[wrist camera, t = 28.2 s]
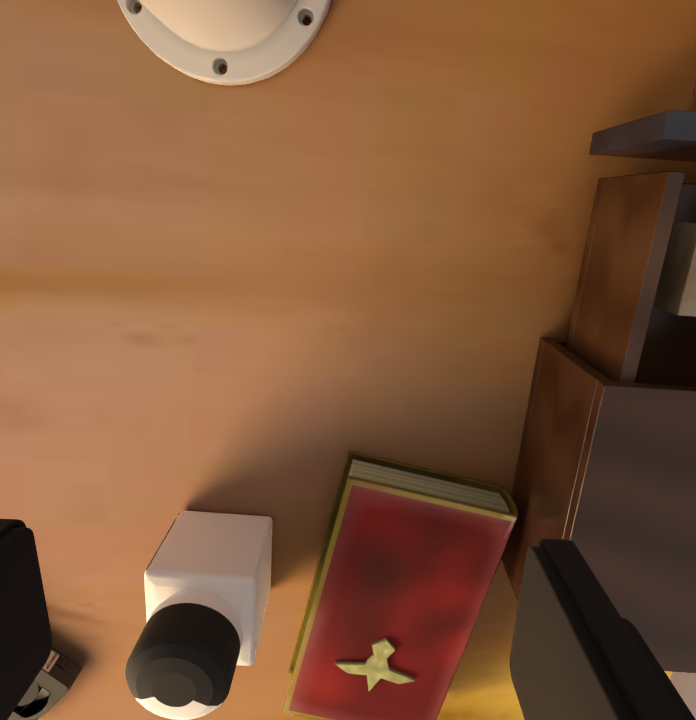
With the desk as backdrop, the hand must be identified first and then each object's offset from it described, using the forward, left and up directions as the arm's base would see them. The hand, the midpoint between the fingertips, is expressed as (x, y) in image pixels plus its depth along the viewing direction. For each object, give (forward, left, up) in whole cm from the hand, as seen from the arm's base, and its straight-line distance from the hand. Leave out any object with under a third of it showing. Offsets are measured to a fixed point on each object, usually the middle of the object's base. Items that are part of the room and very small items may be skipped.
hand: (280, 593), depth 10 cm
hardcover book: (+22, +6, -26) cm, 34 cm away
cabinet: (+10, +20, -26) cm, 34 cm away
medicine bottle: (+20, -7, -26) cm, 34 cm away
